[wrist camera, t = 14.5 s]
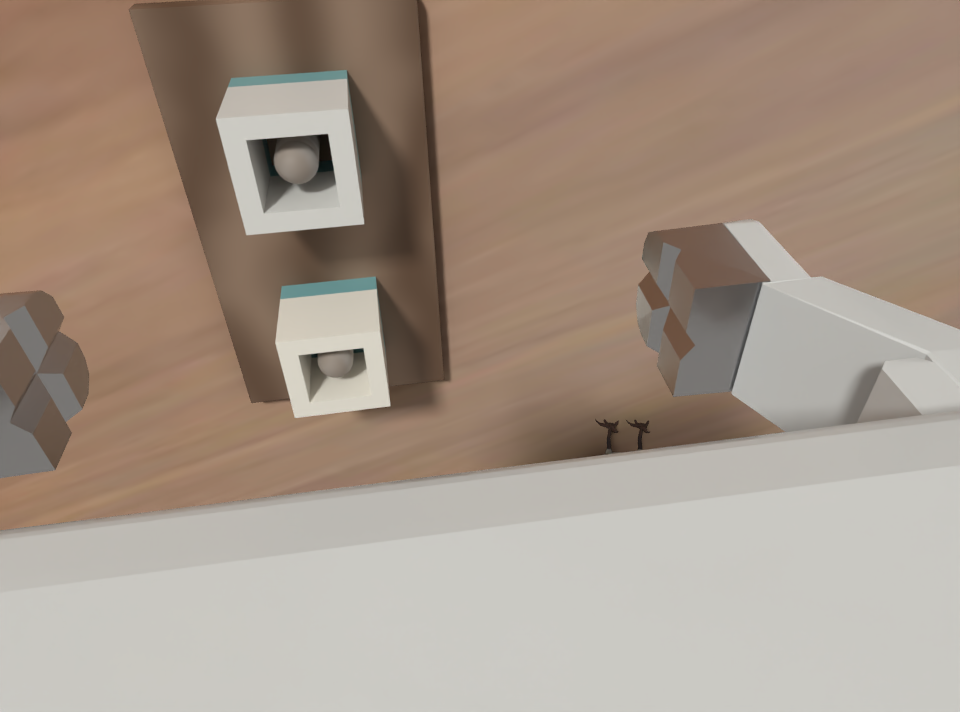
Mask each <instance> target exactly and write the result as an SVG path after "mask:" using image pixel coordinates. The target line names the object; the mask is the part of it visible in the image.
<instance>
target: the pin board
mask: <svg viewBox="0 0 960 712" xmlns="http://www.w3.org/2000/svg"><path fill="white" fill-rule="evenodd" d="M129 12H130V15H131V19H132V22H133V25H134V28H135V31H136V35H137V38H138V41H139V44H140V47H141V51H142V54H143V57H144V60H145V63H146V67H147V70H148V73H149V76H150V79H151V83H152V86H153V89H154V92H155V96H156V99H157V102H158V105H159V108H160V112H161V115H162V118H163V121H164V124H165V128H166V131H167V134H168V137H169V140H170V144H171V147H172V150H173V153H174V156H175V160H176V163H177V166H178V169H179V172H180V176H181V179H182V182H183V185H184V188H185V192H186V195H187V198H188V201H189V204H190V208H191V211H192V214H193V217H194V221H195V224H196V227H197V230H198V233H199V237H200V240H201V243H202V246H203V249H204V253H205V256H206V259H207V262H208V265H209V269H210V272H211V275H212V278H213V281H214V285H215V288H216V291H217V294H218V297H219V301H220V304H221V307H222V310H223V313H224V317H225V320H226V323H227V326H228V329H229V333H230V336H231V339H232V342H233V346H234V349H235V352H236V355H237V358H238V362H239V365H240V368H241V371H242V374H243V378H244V381H245V384H246V387H247V390H248V394H249V397H250V400H251V403H256V402H264V401H273V400H281V399H289V398H290V397H289V393H288V389H287V386H286V382H285V378H284V374H283V370H282V367H281V363H280V359H279V355H278V351H277V348H276V344H275V341H276V332H277V323H278V314H279V306H280V297H281V288H282V286H289V285H299V284H308V283H318V282H328V281H337V280H347V279H357V278H367V277H376V283H377V290H378V298H379V305H380V312H381V319H382V327H383V334H384V341H385V349H386V360H387V372H388V383H389V386H397V385H405V384H414V383H422V382H430V381H439V380H444V372H443V358H442V344H441V330H440V316H439V302H438V288H437V273H436V259H435V245H434V231H433V217H432V203H431V189H430V175H429V161H428V147H427V133H426V119H425V105H424V91H423V77H422V63H421V49H420V34H419V20H418V6H417V0H196V1H179V2H162V3H144V4H134V5H133V6H132V7H131V8H130V9H129ZM340 70H347V75H348V82H349V89H350V97H351V104H352V111H353V118H354V126H355V133H356V140H357V148H358V155H359V162H360V170H361V178H362V194H363V209H364V224H361V225H351V226H340V227H329V228H319V229H308V230H298V231H287V232H276V233H266V234H255V235H246V232H245V228H244V224H243V220H242V217H241V213H240V209H239V205H238V202H237V198H236V194H235V190H234V186H233V183H232V179H231V175H230V171H229V167H228V164H227V160H226V156H225V152H224V148H223V145H222V141H221V137H220V133H219V129H218V126H217V122H216V117H217V114H218V112H219V109H220V106H221V104H222V101H223V98H224V96H225V93H226V91H227V88H228V85H229V83H230V80H231V78H240V77H254V76H268V75H283V74H297V73H311V72H326V71H340ZM267 143H268V148H269V152H270V157H271V161H272V165H274V166H275V169H276V171H277V172H278V174H279V175H280V176H281V177H282V178H283V179H284V180H285V181H287V182H290V183H293V184H303V183H306V182H308V181H310V180H311V179H312V178H313V177H314V176H315V174H316V173H317V170H318V166H319V161H329V160H332V155H331V149H330V142H329V136H328V134H319V135H306V136H294V137H281V138H269V139H267ZM318 366H319V368H320V370H321V371H322V372H323V373H324V374H325V375H327V376H329V377H333V378H338V377H342V376H344V375H346V374H347V373H348V372H349V371H350V370H351V368H352V366H353V349H350V350H342V351H333V352H324V353H318Z"/></svg>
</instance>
